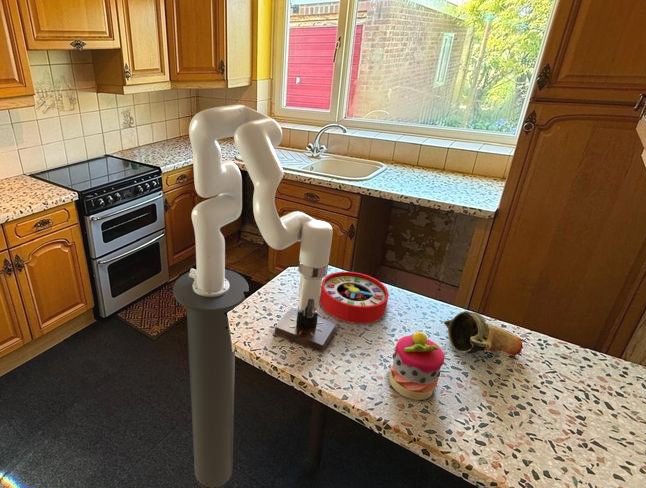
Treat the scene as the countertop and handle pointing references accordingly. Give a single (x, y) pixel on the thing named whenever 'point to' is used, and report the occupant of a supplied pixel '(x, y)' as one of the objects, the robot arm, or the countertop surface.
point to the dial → (299, 317)
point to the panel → (305, 331)
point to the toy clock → (353, 297)
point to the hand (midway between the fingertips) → (306, 322)
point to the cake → (416, 366)
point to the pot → (480, 335)
